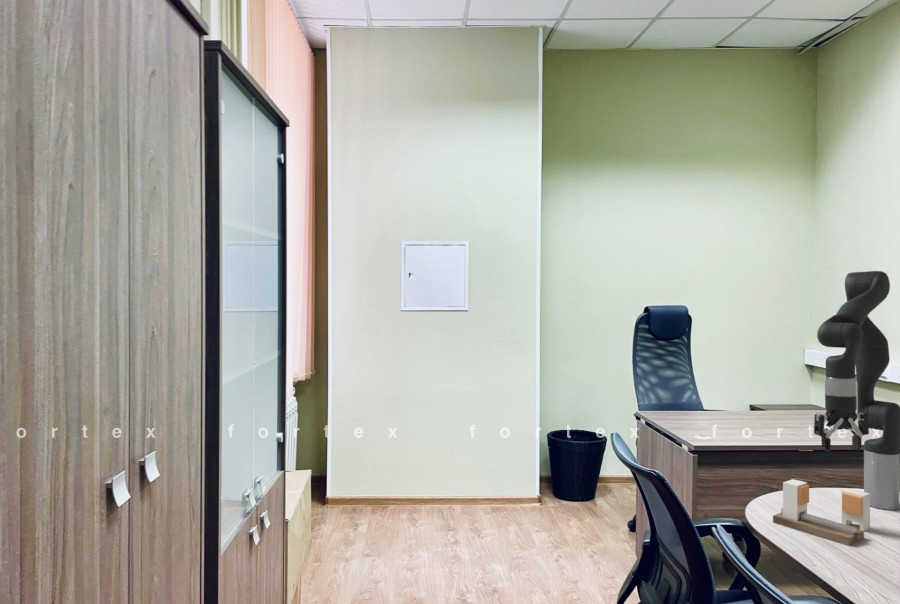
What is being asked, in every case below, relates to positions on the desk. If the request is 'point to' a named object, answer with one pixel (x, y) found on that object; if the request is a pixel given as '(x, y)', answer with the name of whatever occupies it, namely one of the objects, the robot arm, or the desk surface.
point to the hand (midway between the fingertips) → (841, 450)
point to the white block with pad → (856, 508)
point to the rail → (819, 530)
